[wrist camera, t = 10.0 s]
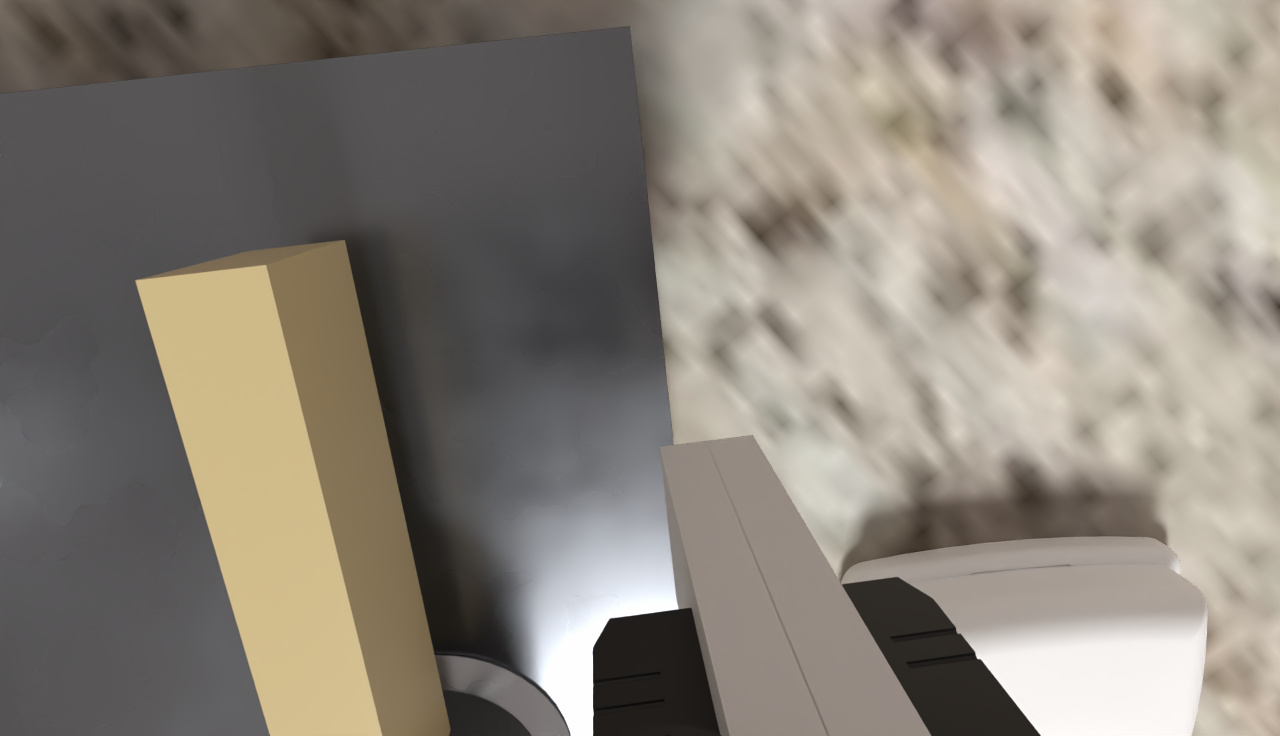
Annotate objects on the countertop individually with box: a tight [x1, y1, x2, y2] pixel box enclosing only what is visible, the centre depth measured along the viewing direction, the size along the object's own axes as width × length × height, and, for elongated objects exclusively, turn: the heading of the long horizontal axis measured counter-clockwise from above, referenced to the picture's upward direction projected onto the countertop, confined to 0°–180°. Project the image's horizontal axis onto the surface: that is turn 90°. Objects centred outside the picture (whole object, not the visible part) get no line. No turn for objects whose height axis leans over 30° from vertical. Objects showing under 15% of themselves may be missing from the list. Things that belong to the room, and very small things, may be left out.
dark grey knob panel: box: [0, 26, 678, 736], centre depth 16 cm, size 28×19×2 cm
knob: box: [135, 240, 532, 736], centre depth 13 cm, size 14×5×5 cm, turn 6°
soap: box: [841, 536, 1207, 736], centre depth 19 cm, size 9×7×3 cm
